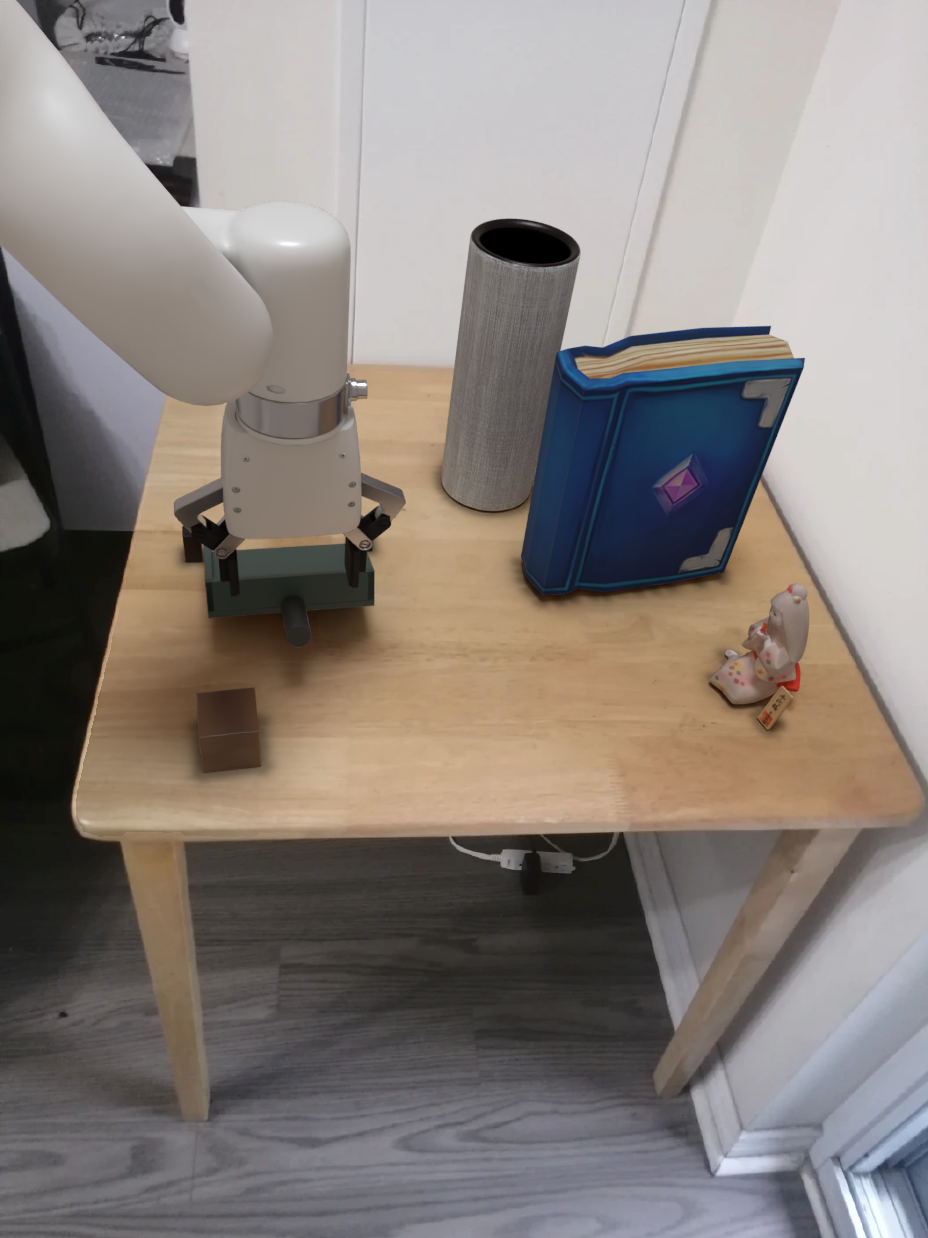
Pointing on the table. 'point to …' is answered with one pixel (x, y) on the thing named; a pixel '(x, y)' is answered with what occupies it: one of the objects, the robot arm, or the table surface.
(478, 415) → the planter
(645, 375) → the book
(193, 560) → the pair of dark blocks
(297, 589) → the dustpan
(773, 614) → the figurine
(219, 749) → the block
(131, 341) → the robot arm
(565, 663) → the table surface
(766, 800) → the table surface
